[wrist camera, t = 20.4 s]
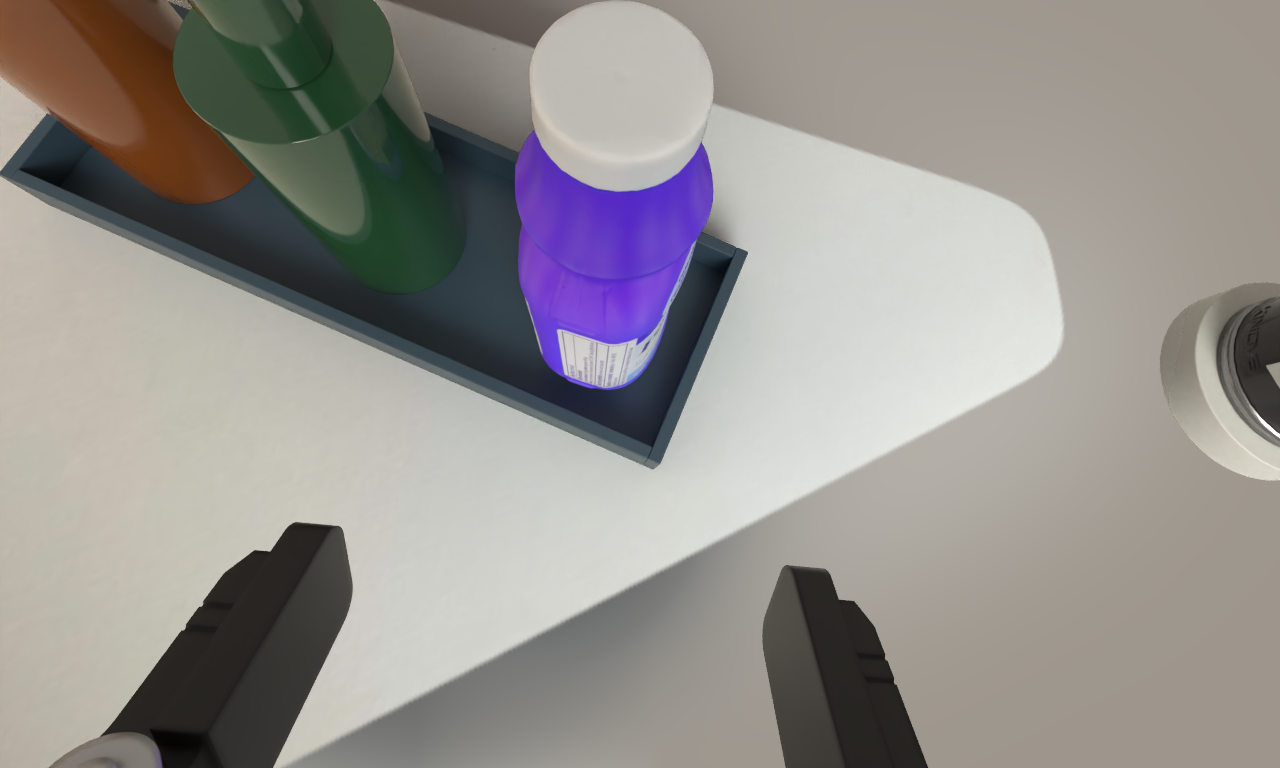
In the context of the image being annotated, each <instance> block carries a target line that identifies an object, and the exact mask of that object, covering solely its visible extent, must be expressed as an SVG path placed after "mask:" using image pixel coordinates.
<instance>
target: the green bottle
mask: <svg viewBox="0 0 1280 768" xmlns="http://www.w3.org/2000/svg"><path fill="white" fill-rule="evenodd" d="M188 2H189V3H190V4H191V6H192V7H193V8H192V9H191V10H190V11H189V13H188V14H187V16H186V17H185V19H184V20H183V22H182V24H181V26H180V28H179V30H178V33H177V36H176V39H175V43H174V49H173V70H174V75H175V79H176V82H177V85H178V88H179V90H180V92H181V94H182V96H183V97H184V99H185V101H186V102H187V104H188V105H189V106H190V107H191V109H192V110H193V111H194V112H195V113H196V114H197V115H198V117H199V118H200V119H201V120H202V121H203V122H204V123H205V124H206V125H207V126H208V127H209V128H210V129H211V130H212V131H213V132H214V133H215V134H216V136H217V137H218V138H219V139H220V140H221V141H222V142H223V143H224V144H225V145H226V146H227V147H228V148H229V149H230V150H231V151H232V152H233V154H234V155H235V156H236V157H237V158H238V159H239V160H240V161H241V162H242V163H243V164H244V165H245V166H246V167H247V168H248V169H249V170H250V171H251V173H252V174H253V175H254V176H255V177H256V178H257V179H258V180H259V181H260V182H261V183H262V184H263V185H264V186H265V187H266V188H267V189H268V190H269V192H270V193H271V194H272V195H273V196H274V197H275V198H276V199H277V200H278V201H279V202H280V203H281V204H282V205H283V206H284V207H285V208H286V210H287V211H288V212H289V213H290V214H291V215H292V216H293V217H294V218H295V219H296V220H297V221H298V222H299V223H300V224H301V225H302V226H303V227H304V229H305V230H306V231H307V232H308V233H309V234H310V235H311V236H312V237H313V238H314V239H315V240H316V241H317V242H318V243H319V244H320V245H321V246H322V248H323V249H324V250H325V251H326V252H327V253H328V254H329V255H330V256H331V257H332V258H333V259H334V260H335V261H336V262H337V263H338V264H339V266H340V267H341V268H342V269H343V270H344V271H345V272H346V273H347V274H348V275H349V276H350V277H351V278H352V279H353V280H355V281H356V282H357V283H359V284H360V285H362V286H364V287H366V288H368V289H370V290H373V291H376V292H379V293H384V294H391V295H404V294H411V293H416V292H419V291H422V290H425V289H428V288H430V287H432V286H434V285H435V284H437V283H439V282H440V281H441V280H443V279H444V278H445V277H446V276H447V275H448V274H450V272H451V271H452V270H453V269H454V268H455V267H456V265H457V263H458V262H459V260H460V258H461V256H462V254H463V252H464V248H465V245H466V239H467V227H466V221H465V218H464V214H463V212H462V209H461V207H460V204H459V202H458V199H457V197H456V194H455V192H454V189H453V186H452V184H451V181H450V179H449V176H448V174H447V171H446V169H445V166H444V164H443V161H442V158H441V156H440V153H439V151H438V148H437V146H436V143H435V141H434V138H433V136H432V133H431V130H430V128H429V125H428V123H427V120H426V118H425V115H424V113H423V110H422V108H421V105H420V102H419V100H418V97H417V95H416V92H415V90H414V87H413V85H412V82H411V80H410V77H409V74H408V72H407V69H406V67H405V64H404V62H403V59H402V57H401V54H400V52H399V49H398V46H397V44H396V41H395V39H394V36H393V34H392V31H391V29H390V26H389V24H388V22H387V20H386V17H385V15H384V14H383V12H382V11H381V9H380V8H379V6H378V5H377V4H376V3H375V2H374V1H373V0H188Z"/></svg>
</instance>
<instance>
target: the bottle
mask: <svg viewBox="0 0 1280 768" xmlns="http://www.w3.org/2000/svg"><path fill="white" fill-rule="evenodd" d="M529 84H530V94H531V101H532V119H533V124H534V128H535V129H534V130H533V131H532V133H531V134H530V135H529V136H528V138H527V139H526V141H525V142H524V145H523V147H522V149H521V151H520V153H519V157H518V160H517V163H516V165H515V196H516V203H517V208H518V212H519V215H520V218H521V221H522V227H521V231H520V237H519V253H518V272H519V281H520V286H521V289H522V292H523V294H524V297H525V300H526V303H527V306H528V310H529V313H530V316H531V319H532V322H533V325H534V329H535V333H536V337H537V341H538V344H539V349H540V352H541V355H542V357H543V359H544V360H545V362H546V363H547V364H548V366H549V367H550V368H551V369H552V370H553V371H554V372H556V373H557V374H559V375H561V376H563V377H565V378H566V379H567V380H568V381H570V382H572V383H575V384H578V385H581V386H584V387H587V388H591V389H592V388H598V389H603V390H613V389H619V388H622V387H625V386H627V385H629V384H631V383H632V382H633V381H635V380H636V379H637V378H638V377H639V376H640V375H641V374H642V373H643V372H644V370H645V369H646V368H647V366H648V365H649V363H650V361H651V360H652V358H653V356H654V354H655V352H656V350H657V348H658V345H659V343H660V340H661V338H662V335H663V332H664V329H665V325H666V321H667V318H668V313H669V307H670V305H671V303H672V302H673V300H674V298H675V296H676V294H677V293H678V290H679V288H680V286H681V284H682V282H683V280H684V278H685V275H686V273H687V270H688V267H689V264H690V261H691V258H692V255H693V251H694V248H695V245H696V241H697V238H698V236H699V235H700V233H701V231H702V230H703V228H704V227H705V225H706V222H707V220H708V217H709V215H710V211H711V207H712V202H713V181H712V173H711V168H710V164H709V159H708V156H707V153H706V150H705V148H704V146H703V144H702V139H703V136H704V133H705V130H706V125H707V119H708V116H709V112H710V109H711V105H712V101H713V95H714V81H713V74H712V69H711V65H710V62H709V59H708V57H707V54H706V52H705V50H704V48H703V46H702V45H701V43H700V41H699V40H698V39H697V38H696V37H695V36H694V34H693V33H692V32H691V31H690V30H689V29H688V28H687V27H686V26H685V25H684V24H682V23H681V22H680V21H679V20H677V19H676V18H674V17H672V16H671V15H670V14H668V13H666V12H664V11H662V10H660V9H658V8H655V7H652V6H649V5H645V4H642V3H638V2H632V1H626V0H609V1H601V2H594V3H591V4H587V5H584V6H581V7H579V8H577V9H575V10H573V11H571V12H569V13H568V14H566V15H565V16H563V17H561V18H560V19H558V20H557V21H556V22H554V23H553V24H552V25H551V27H550V28H549V29H548V30H547V31H546V33H544V35H543V36H542V38H541V39H540V40H539V42H538V44H537V46H536V48H535V50H534V52H533V56H532V59H531V64H530V70H529Z"/></svg>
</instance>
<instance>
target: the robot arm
mask: <svg viewBox="0 0 1280 768" xmlns="http://www.w3.org/2000/svg"><path fill="white" fill-rule="evenodd" d="M1217 367H1218V373H1219V377H1220V381H1221V384H1222V386H1223V389H1224V391H1225V394H1226V396H1227V398H1228V400H1229V401H1230V403H1231V405H1232V406H1233V408H1234V409H1235V411H1236V412H1237V414H1238V415H1239V416H1240V418H1241V419H1242V420H1243V421H1244V422H1245V423H1246V424H1247V425H1248V426H1249V427H1250V428H1251V429H1252V430H1253V431H1254V432H1255V433H1257V434H1258V435H1259V436H1261V437H1262V438H1263V439H1265V440H1266V441H1268V442H1270V443H1271V444H1273V445H1275V446H1277V447H1279V448H1280V296H1279V297H1273V298H1269V299H1266V300H1263V301H1260V302H1256V303H1253V304H1251V305H1248V306H1246V307H1244V308H1242V309H1240V310H1239V311H1237V312H1236V313H1235V314H1234V315H1233V316H1232V317H1231V318H1230V319H1229V320H1228V321H1227V323H1226V324H1225V326H1224V328H1223V330H1222V332H1221V335H1220V337H1219V341H1218V347H1217ZM352 590H353V584H352V577H351V572H350V566H349V560H348V555H347V549H346V544H345V538H344V533H343V530H342V528H341V527H339V526H332V525H321V524H310V523H299V522H295V523H292V524H291V525H290V526H288V527H287V529H286V530H285V531H284V533H283V534H282V536H281V537H280V539H279V540H278V541H277V543H276V544H275V546H274V547H273V549H272V550H271V552H268V551H257V550H254V551H253V552H252V553H250V554H249V555H248V556H246V557H245V558H244V559H242V560H241V561H240V562H238V563H237V564H236V565H234V566H233V567H232V568H230V569H229V570H228V571H226V572H225V573H224V574H223V575H222V577H221V578H220V580H219V581H218V582H217V584H216V585H215V586H214V588H213V589H212V590H211V592H210V593H209V594H208V596H207V597H206V598H205V600H204V601H203V602H204V603H203V606H202V607H199V608H198V609H197V610H196V612H195V613H194V614H193V616H192V617H191V619H190V620H189V621H188V623H187V624H186V628H185V630H184V631H181V632H180V633H179V635H178V636H177V637H176V639H175V640H174V641H173V643H172V644H171V645H170V647H169V648H168V649H167V651H166V652H165V653H164V655H163V656H162V657H161V659H160V660H159V662H158V663H157V664H156V666H155V667H154V668H153V670H152V671H151V672H150V674H149V675H148V676H147V678H146V679H145V680H144V682H143V683H142V684H141V686H140V687H139V688H138V690H137V691H136V692H135V694H134V695H133V696H132V698H131V699H130V701H129V702H128V703H127V705H126V706H125V707H124V709H123V710H122V711H121V713H120V714H119V715H118V717H117V718H116V719H115V721H114V722H113V723H112V724H111V725H110V727H109V728H108V729H107V730H106V731H105V732H104V733H103V734H102V735H101V736H100V737H99V738H96V739H93V740H91V741H88V742H86V743H84V744H82V745H80V746H78V747H77V748H75V749H73V750H72V751H70V752H68V753H67V754H65V755H64V756H63V757H61V758H60V759H59V760H57V761H56V762H54V763H53V764H52V765H51V766H50V767H49V768H273V766H274V764H275V762H276V760H277V758H278V756H279V754H280V752H281V750H282V748H283V746H284V744H285V742H286V740H287V738H288V736H289V734H290V731H291V729H292V727H293V725H294V723H295V721H296V719H297V717H298V715H299V713H300V711H301V709H302V707H303V705H304V703H305V701H306V699H307V697H308V695H309V693H310V690H311V688H312V686H313V684H314V682H315V680H316V678H317V676H318V674H319V672H320V670H321V668H322V666H323V664H324V662H325V660H326V658H327V656H328V654H329V652H330V649H331V647H332V645H333V643H334V641H335V639H336V637H337V635H338V633H339V631H340V629H341V627H342V625H343V623H344V621H345V619H346V616H347V613H348V611H349V607H350V603H351V598H352ZM763 650H764V656H765V662H766V667H767V672H768V677H769V682H770V687H771V693H772V698H773V703H774V709H775V714H776V719H777V724H778V729H779V735H780V740H781V745H782V750H783V756H784V761H785V766H786V768H928V766H927V764H926V761H925V759H924V756H923V753H922V751H921V748H920V745H919V743H918V740H917V737H916V735H915V732H914V729H913V727H912V724H911V722H910V719H909V716H908V714H907V711H906V708H905V706H904V703H903V700H902V698H901V695H900V693H899V690H898V687H897V685H895V684H894V677H893V674H892V671H891V669H890V666H889V664H888V661H886V660H885V653H884V650H883V648H882V645H881V642H880V640H879V637H878V635H877V632H876V629H875V627H874V625H873V624H872V623H871V622H870V621H869V619H868V618H867V617H866V615H865V614H864V613H863V612H862V611H861V609H860V608H859V607H858V605H857V604H856V603H855V602H854V601H846V600H839V599H838V596H837V593H836V590H835V587H834V584H833V581H832V578H831V576H830V574H829V572H828V571H827V570H826V569H821V568H810V567H800V566H789V565H786V566H784V567H783V569H782V570H781V573H780V576H779V578H778V581H777V584H776V587H775V590H774V592H773V595H772V598H771V601H770V603H769V606H768V609H767V612H766V614H765V618H764V623H763Z"/></svg>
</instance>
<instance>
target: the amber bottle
mask: <svg viewBox="0 0 1280 768" xmlns="http://www.w3.org/2000/svg"><path fill="white" fill-rule="evenodd" d="M182 22H183V20H182V19H181V17H180V16H179V15H178V13H177V12H176V11H175V10H174V8H173V7H172V6H171V5H170V3H169V2H168V1H167V0H0V77H1V78H2V79H4V80H5V81H6V82H7V83H9V84H10V85H11V86H13V87H14V88H15V89H17V90H18V91H19V92H21V93H22V94H23V95H24V96H26V97H27V98H28V99H30V100H31V101H32V102H34V103H35V104H36V105H37V106H39V107H40V108H41V109H43V110H44V111H45V112H47V113H48V114H49V115H51V116H52V117H53V118H54V119H56V120H57V121H58V122H60V123H61V124H62V125H64V126H65V127H66V128H68V129H69V130H70V131H71V132H73V133H74V134H75V135H77V136H78V137H79V138H81V139H82V140H83V141H84V142H86V143H87V144H88V145H90V146H91V147H92V148H94V149H95V150H96V151H98V152H99V153H100V154H101V155H103V156H104V157H105V158H107V159H108V160H109V161H111V162H112V163H113V164H114V165H116V166H117V167H118V168H120V169H121V170H122V171H124V172H125V173H126V174H128V175H129V176H130V177H131V178H133V179H134V180H135V181H137V182H138V183H139V184H141V185H142V186H143V187H144V188H146V189H147V190H148V191H150V192H151V193H153V194H154V195H156V196H158V197H160V198H162V199H164V200H167V201H170V202H174V203H179V204H187V205H198V204H207V203H211V202H216V201H218V200H221V199H224V198H226V197H229V196H231V195H233V194H234V193H236V192H238V191H239V190H241V189H242V188H243V187H244V186H246V185H247V184H248V183H249V182H250V181H251V180H252V179H253V178H254V175H253V174H252V173H251V171H250V170H249V169H248V168H247V167H246V166H245V165H244V164H243V163H242V162H241V161H240V160H239V159H238V158H237V157H236V156H235V155H234V154H233V152H232V151H231V150H230V149H229V148H228V147H227V146H226V145H225V144H224V143H223V142H222V141H221V140H220V139H219V138H218V137H217V136H216V134H215V133H214V132H213V131H212V130H211V129H210V128H209V127H208V126H207V125H206V124H205V123H204V122H203V121H202V120H201V119H200V118H199V117H198V115H197V114H196V113H195V112H194V111H193V110H192V109H191V107H190V106H189V105H188V104H187V102H186V101H185V99H184V97H183V96H182V94H181V92H180V90H179V88H178V85H177V82H176V79H175V75H174V70H173V49H174V43H175V39H176V36H177V33H178V30H179V28H180V26H181V24H182Z"/></svg>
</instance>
